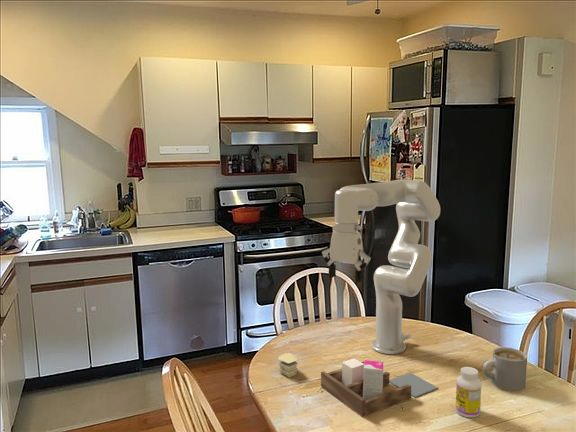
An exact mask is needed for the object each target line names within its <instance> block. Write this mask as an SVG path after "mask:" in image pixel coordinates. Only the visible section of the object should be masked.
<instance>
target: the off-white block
mask: <svg viewBox="0 0 576 432" xmlns="http://www.w3.org/2000/svg"><path fill="white" fill-rule="evenodd" d="M361 362H362V361H359V360H358V359H356V358H351V359H348V360H345V361H342V362H341V369H342V382H341V383H342V384H343V385H345V386H346V385H349V384H352V383H355V382H358V381H361V380H364V364H363V363H361Z"/></svg>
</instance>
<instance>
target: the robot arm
mask: <svg viewBox="0 0 576 432" xmlns="http://www.w3.org/2000/svg"><path fill="white" fill-rule="evenodd" d="M434 193H435V192H433V191H432V189H431V187H430V186H429V185H428V183H427V182H425V181H423V180H420V179H417V180H416V179H403V178H402V179H396V180H390V181H389V180H387V181H383V182H372V183H365V184H364V183H361V184H352V185H346V186H343V187H340V189H337V190H336V191H335V193H334V230H333V231H332V234H331V237H330V245H329V248H327V249H325V250H322V251H321V254H322V256H323V258H324V259H323V260H324V261H325V263H326V265H327V266H328V277H329V279H333V278H335V277H336V276H337V273H336V272H337V265H336V262H337V263H343V264H349V265H350V264H351V265H354V267H355V268H356V270H355V278H354V279H355V281H354V282H355V283H357V284H358V283H360V282H362V280H363V275H364V274H363V273H364V271H363V270H364V269H365V268H367V266H368V265H369V263H370V261H371V259H372V257H371V256H369V255H368V254H366V252H364V251H363V241H362V235H361V232H359V231H361V230H362V225H359V211H360V212H361V211H364V212H369V211H373V210H374V209H376V207H388V206H389V207H390V206H393V205H396V206H395V211H396V212H395V213H396V217H397V222H398V229H397V230H398V231H397V233H396V236H395V238H394V239H393V242H392V244H391V247H390V249H389V251H388V255H387V259H388V262H389V263H390V265H380V266H379V267H377V268H376V270H375V271H374V273H373V282H374V283H373V285H374V289H375V297H376V298H375V300H376V301H375V304H376V307H375V316H376V317H375V339H374V340H373V341H372V342H371V348H372V349H373V350H374V351H376V352H378V353H381V354H385V355H397V354H401V353H403V352H405V350H406V348H407V347H406V344H405V341H406V340H409V339H411V338H412V337H411V333H408V332H407V333H406V334H404V333H403V332H402V331H403V325H402V324H403V301H402V298H401V296H406V297H409V298H411V297H415V296H417V295H418V294H419V292H420V290H421V289H422V286H423V284H424V282H425V280H426V276H427V274H428V271H429V270H430V267H431V264H432V251H431V249H430V248H429V247H428V246H426V245H425V244H424V245H423V244H420V243H419V242H420V238H421V232H420V229H419V227H418V225H417V224H416V222H415V221H420V222H421V221H423V222H434V221H436V220H438V219H439V217H440V216H441V205H440V203H439V202H440V201H439V200H438V199H437V197H436V196H435V194H434ZM363 260H364V261H363ZM362 261H363V262H362ZM400 295H401V296H400Z"/></svg>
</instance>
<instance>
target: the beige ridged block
mask: <svg viewBox="0 0 576 432" xmlns="http://www.w3.org/2000/svg"><path fill="white" fill-rule="evenodd" d="M277 360H278V361H277V363H278V367H277V369H278V371H279V374H281V375H284V376H285V377H288V378H291V377H294V376H297V371H298V370H299V368H297V366H298V365H299V364H298V362H297V361H298V358H297V357H296V356H295V355H294V354H293V353H290V352H287V353H286V352H285V353H282V354H281V355H279V356H278V357H277Z"/></svg>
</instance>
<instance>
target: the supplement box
mask: <svg viewBox="0 0 576 432" xmlns="http://www.w3.org/2000/svg"><path fill="white" fill-rule="evenodd" d="M364 361H365V362H364ZM364 361H363V362H364V385H363V394H362V398H364V399H365V400H367V399H370V398H372V397H375V396H378V395H380V394H383V391H384V390H383V389H384V387H383V373H384V361H378V360H368V359H365V360H364Z"/></svg>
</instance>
